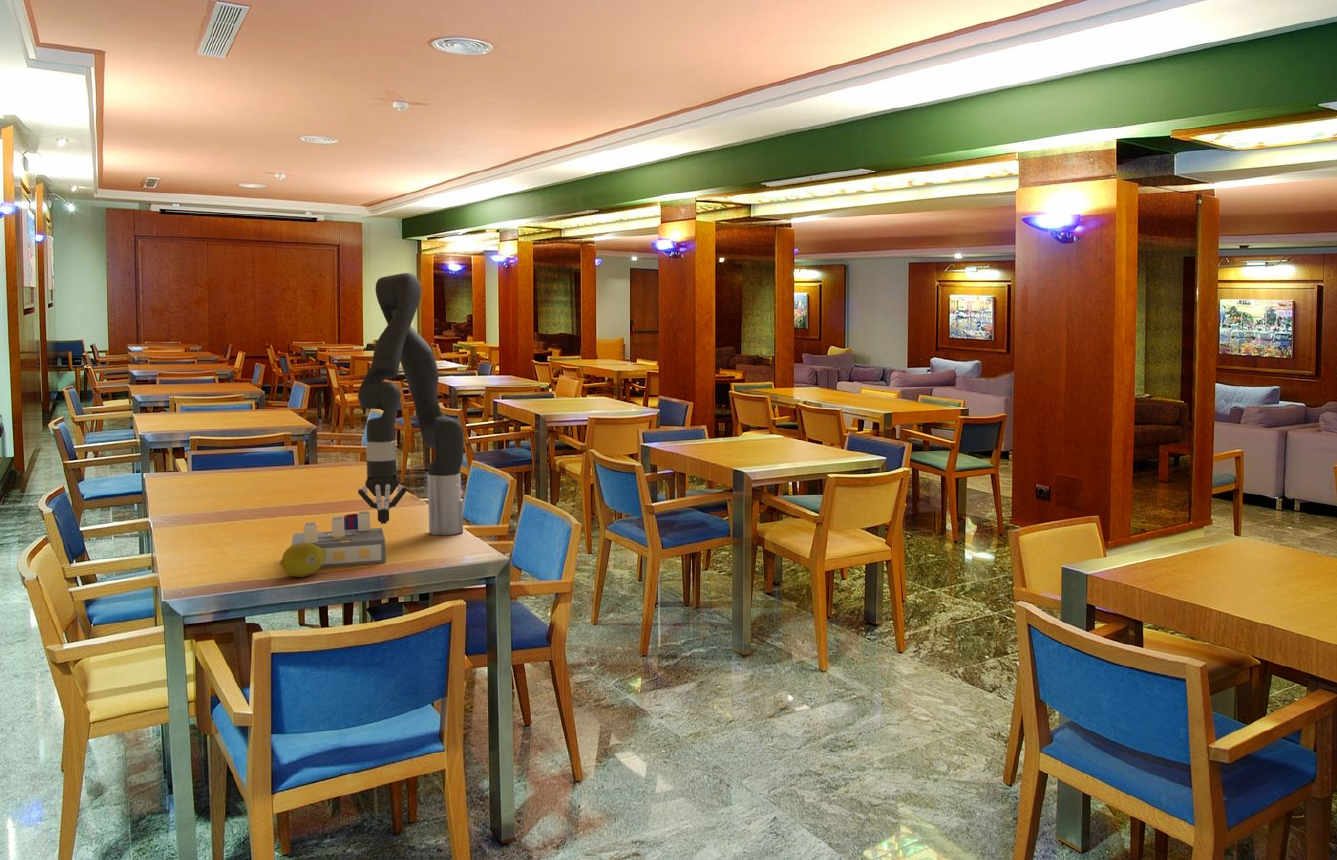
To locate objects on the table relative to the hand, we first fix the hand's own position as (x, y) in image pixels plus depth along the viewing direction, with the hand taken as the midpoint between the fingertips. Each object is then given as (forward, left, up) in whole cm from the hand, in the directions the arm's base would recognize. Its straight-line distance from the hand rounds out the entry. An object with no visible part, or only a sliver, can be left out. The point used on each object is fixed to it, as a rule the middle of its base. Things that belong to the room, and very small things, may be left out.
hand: (383, 523), depth 257 cm
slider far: (+5, 0, -2) cm, 5 cm away
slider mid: (+11, +5, -2) cm, 13 cm away
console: (+11, +5, -8) cm, 15 cm away
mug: (+8, -19, -8) cm, 22 cm away
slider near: (+18, +11, -2) cm, 21 cm away
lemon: (+20, +20, -8) cm, 29 cm away
